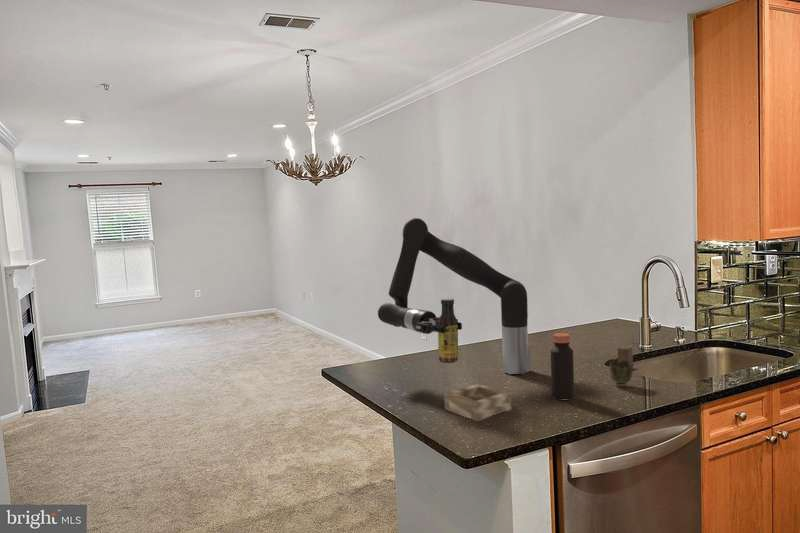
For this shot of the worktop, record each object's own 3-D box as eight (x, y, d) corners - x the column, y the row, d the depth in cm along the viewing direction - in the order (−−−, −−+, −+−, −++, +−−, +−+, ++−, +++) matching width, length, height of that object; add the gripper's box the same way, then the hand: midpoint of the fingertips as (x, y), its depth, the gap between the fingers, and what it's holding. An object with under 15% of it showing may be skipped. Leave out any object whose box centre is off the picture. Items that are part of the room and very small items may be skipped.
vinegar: (570, 402, 179) (569, 337, 177) (548, 399, 183) (547, 336, 181) (576, 395, 185) (575, 333, 183) (555, 392, 188) (554, 331, 186)
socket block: (478, 399, 186) (477, 383, 185) (511, 410, 174) (510, 393, 174) (444, 409, 178) (444, 393, 177) (476, 421, 166) (476, 404, 166)
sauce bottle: (445, 365, 181) (442, 301, 178) (435, 360, 186) (432, 299, 184) (463, 361, 184) (460, 299, 181) (452, 357, 189) (449, 296, 187)
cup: (633, 383, 194) (632, 360, 193) (634, 390, 187) (633, 366, 186) (609, 382, 196) (608, 359, 195) (609, 389, 189) (609, 365, 188)
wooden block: (617, 369, 211) (617, 347, 211) (622, 366, 214) (622, 345, 213) (628, 371, 209) (628, 349, 208) (633, 368, 211) (632, 346, 211)
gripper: (402, 312, 191) (434, 319, 177) (436, 306, 199) (469, 312, 185) (403, 335, 192) (435, 343, 178) (437, 328, 200) (470, 336, 186)
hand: (452, 328), depth 182 cm, fingers closed on sauce bottle, 6 cm apart
